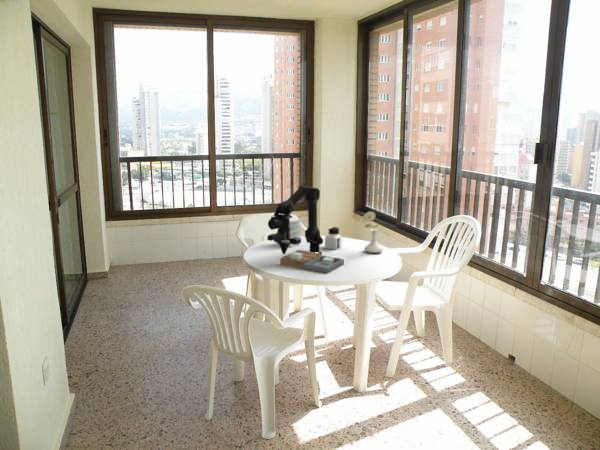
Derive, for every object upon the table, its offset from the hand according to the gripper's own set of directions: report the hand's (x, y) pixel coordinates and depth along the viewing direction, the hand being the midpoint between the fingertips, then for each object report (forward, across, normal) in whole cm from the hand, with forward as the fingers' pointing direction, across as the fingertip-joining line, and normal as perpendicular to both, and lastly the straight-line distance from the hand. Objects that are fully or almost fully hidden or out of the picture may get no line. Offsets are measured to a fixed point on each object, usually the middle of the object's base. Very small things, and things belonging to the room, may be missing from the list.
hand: (283, 254), depth 292 cm
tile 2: (+2, +22, +11) cm, 25 cm away
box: (+5, +23, +6) cm, 24 cm away
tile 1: (+1, +8, 0) cm, 8 cm away
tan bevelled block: (+5, +8, +6) cm, 11 cm away
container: (+5, +8, +44) cm, 46 cm away
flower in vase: (+5, +32, +50) cm, 59 cm away
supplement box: (+5, -18, +35) cm, 40 cm away
